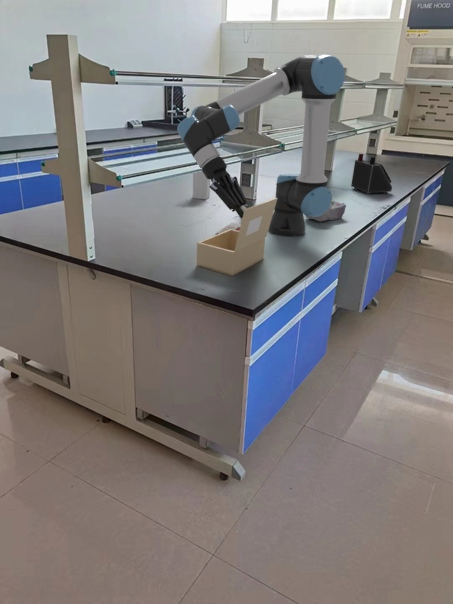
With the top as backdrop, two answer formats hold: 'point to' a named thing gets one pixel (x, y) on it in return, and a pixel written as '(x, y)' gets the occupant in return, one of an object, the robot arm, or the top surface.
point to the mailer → (228, 253)
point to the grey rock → (331, 212)
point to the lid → (255, 224)
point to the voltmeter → (370, 176)
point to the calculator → (230, 227)
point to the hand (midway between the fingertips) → (251, 225)
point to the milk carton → (201, 186)
